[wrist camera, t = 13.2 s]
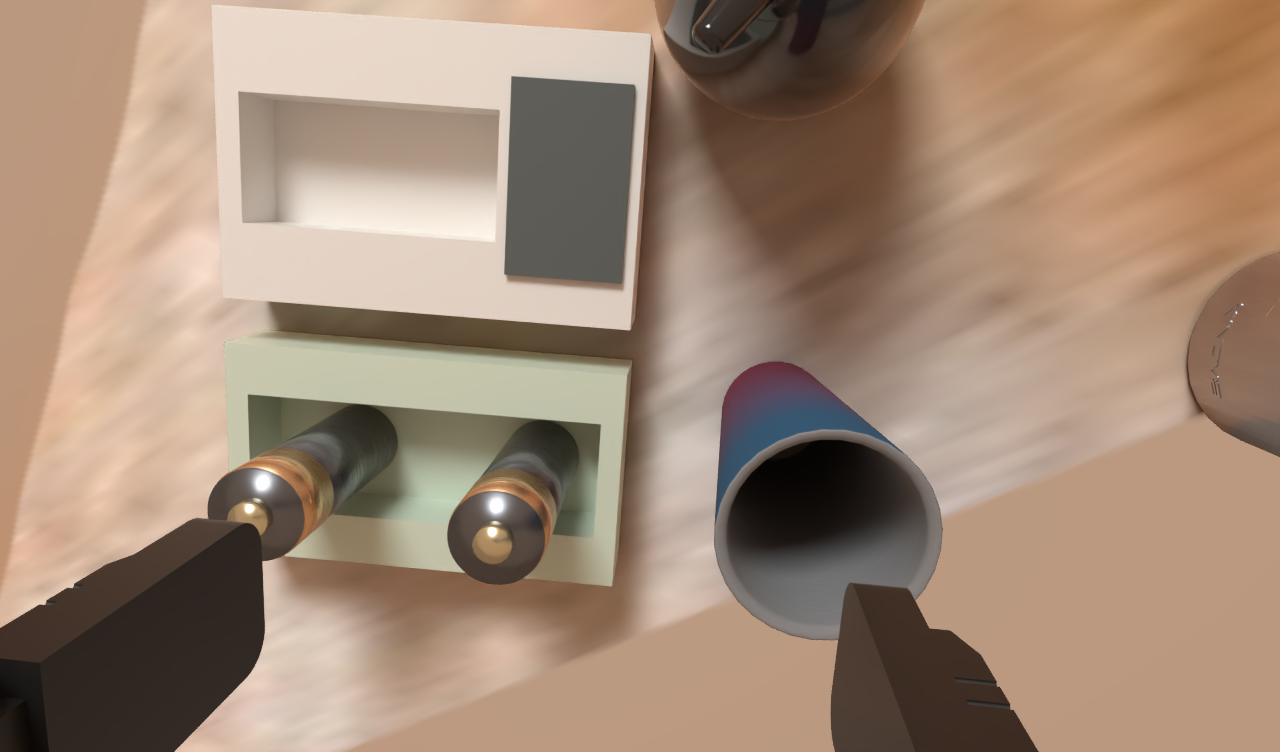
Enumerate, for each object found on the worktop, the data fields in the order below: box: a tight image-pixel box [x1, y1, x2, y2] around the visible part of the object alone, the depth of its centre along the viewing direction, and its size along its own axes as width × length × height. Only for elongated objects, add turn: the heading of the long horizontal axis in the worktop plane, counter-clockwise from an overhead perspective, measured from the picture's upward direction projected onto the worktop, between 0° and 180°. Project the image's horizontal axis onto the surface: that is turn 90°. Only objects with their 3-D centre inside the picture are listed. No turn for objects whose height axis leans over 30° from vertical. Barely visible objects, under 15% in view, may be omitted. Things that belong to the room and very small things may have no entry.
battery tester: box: [212, 5, 655, 330], centre depth 36 cm, size 18×12×4 cm, turn 86°
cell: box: [208, 405, 398, 561], centre depth 35 cm, size 4×4×11 cm
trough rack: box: [224, 330, 632, 586], centre depth 38 cm, size 18×10×4 cm, turn 86°
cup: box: [714, 362, 943, 640], centre depth 32 cm, size 7×7×15 cm
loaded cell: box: [447, 420, 579, 585], centre depth 34 cm, size 4×4×11 cm
